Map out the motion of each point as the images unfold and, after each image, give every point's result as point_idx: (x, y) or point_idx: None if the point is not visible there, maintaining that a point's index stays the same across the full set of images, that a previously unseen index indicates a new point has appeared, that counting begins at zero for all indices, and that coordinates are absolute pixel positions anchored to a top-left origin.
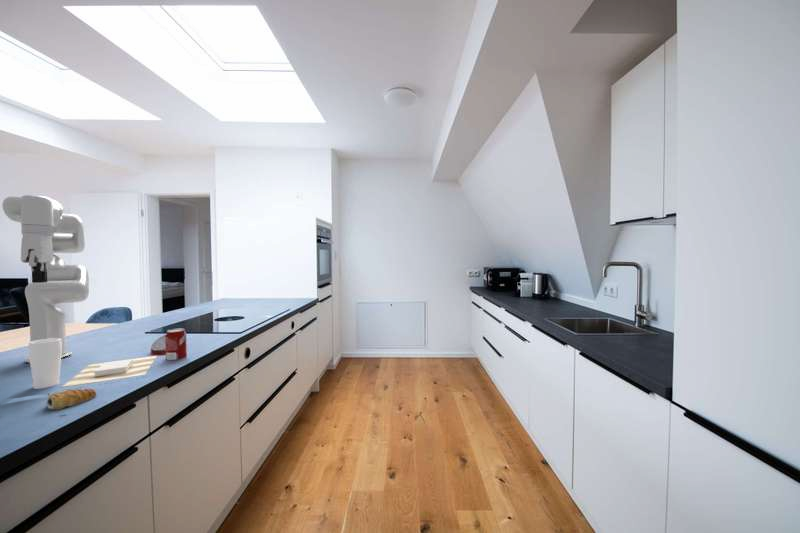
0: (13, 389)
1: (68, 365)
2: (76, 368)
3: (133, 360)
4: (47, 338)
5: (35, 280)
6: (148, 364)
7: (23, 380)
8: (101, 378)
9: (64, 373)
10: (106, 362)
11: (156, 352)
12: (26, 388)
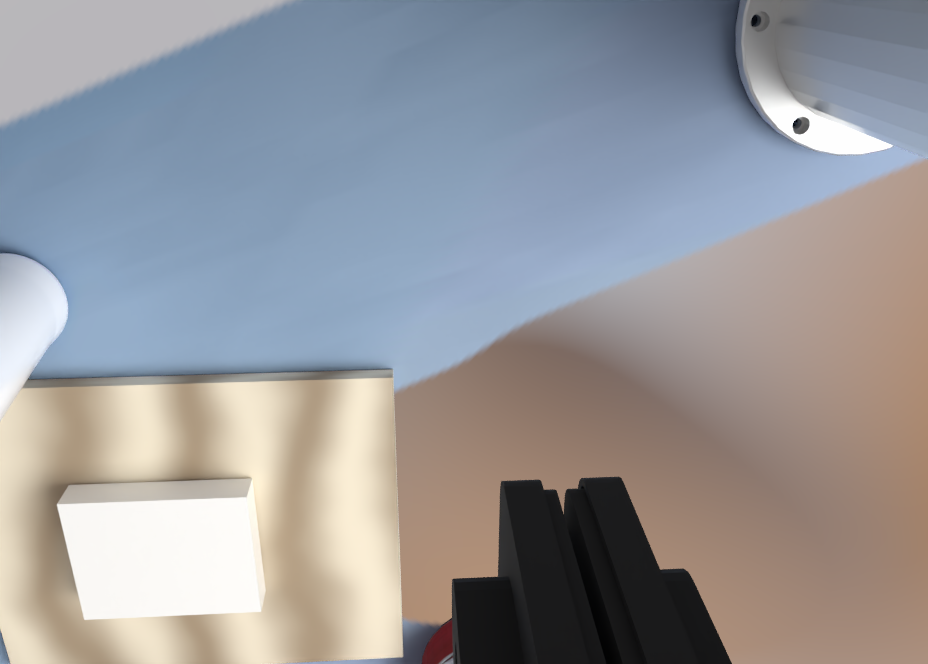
0: (71, 128)
1: (523, 232)
2: (405, 305)
3: (353, 572)
4: (857, 71)
5: (503, 557)
6: (213, 654)
7: (262, 99)
8: (26, 519)
9: (312, 278)
10: (243, 507)
11: (432, 660)
12: (62, 192)
